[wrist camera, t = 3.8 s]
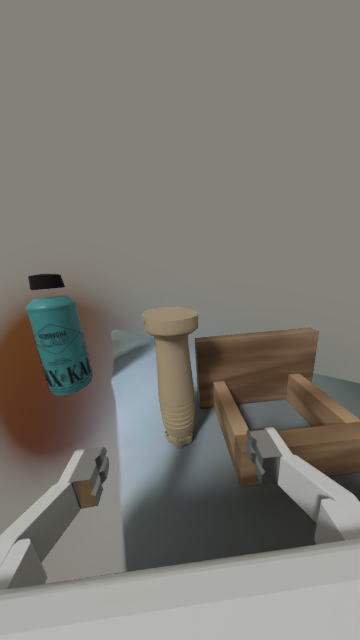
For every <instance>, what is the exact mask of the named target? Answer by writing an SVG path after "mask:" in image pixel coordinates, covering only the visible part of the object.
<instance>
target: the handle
mask: <svg viewBox="0 0 360 640" xmlns="http://www.w3.org/2000/svg"><path fill="white" fill-rule="evenodd" d="M142 317H143V325H144V328H145V331H146V333H148V334H149V335H152V336H154V338H155V345H156V358H157V374H158V392H159V402H160V408H161V414H162V419H163V423H164V426H165V429H166V431H165V433H166V437H167V440H168V442H169V443H173V444H175V445H176V446H177V448H182V447H183V446H184V445H186V444H190V443H191V442H192V439H193V429H194V422H195V395H194V386H193V378H192V371H191V363H190V355H189V346H188V335H189V334H190V333H192V332H193V331H195V330H196V329H197V328H198V314H197V311H195V310H193V309H190V308H186V307H163V308H155V309H151V310H147V311H145V312H144V313H143V314H142Z"/></svg>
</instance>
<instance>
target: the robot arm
mask: <svg viewBox="0 0 360 640" xmlns="http://www.w3.org/2000/svg"><path fill="white" fill-rule="evenodd" d="M247 437H248V440H247V441H246V447H247V452H248V455H249V458H250V460H251V462H252V463H253V464H255V472H256V474H257V476H258V478H259V480H260V483H261V485H265V484H276V483H278V485H279V486H280V487H281V488H282V489H283V490H284V491H285V492H286V493H287V494H288V495H289V496H290V497H291V498H292V499H293V500H294V501H295V502H296V503H297V504H298V505H299V506H300V507H301V508H302V509H303V510H304V511H305V512H306V513H307V514H308V515H309V516H310V517H311V518H312V519H313V520H314V521H315V522H316V523H317V525H316V531H315V536H314V540H315V542H316V544H317V545H310V546H303V547H296V548H289V549H282V550H275V551H268V552H262V553H255V554H248V555H241V556H234V557H227V558H220V559H213V560H206V561H199V562H192V563H185V564H178V565H171V566H164V567H157V568H150V569H143V570H136V571H129V572H122V573H115V574H108V575H101V576H94V577H87V578H81V579H74V580H67V581H60V582H53V583H47V584H45V582H46V579H47V574H46V571H45V570H44V567H43V565H42V561H43V560H44V559H45V557H46V556H47V555H48V553H49V552H50V551H51V549H52V548H53V547H54V545H55V544H56V542H57V541H58V540H59V538H60V537H61V536H62V534H63V533H64V532H65V530H66V529H67V527H68V526H69V525H70V523H71V522H72V520H73V519H74V518H75V517H76V515H77V514H78V513H79V511H80V509H82V508H87V507H94V506H98V504H99V501H100V498H101V494H102V491H103V487H102V484H103V482H104V481H105V480H106V478H107V475H108V470H109V460H108V457H106V456H105V455H106V452H107V451H106V448H105V447H102V448H91V449H80V450H76V451H75V452H74V454H73V456H72V458H71V459H70V461H69V463H68V465H67V467H66V469H65V470H64V472H63V474H62V476H61V478H60V480H59V482H58V484H55V485H53V486H52V487H51V488H50V489H49V490H48V491H47V492H46V493H45V494H44V495H43V496H42V497H41V498H39V499H38V500H37V501H36V502H35V503H34V504H33V505H32V506H31V507H30V508H29V509H28V510H27V511H26V512H25V513H24V514H22V515H21V516H20V517H19V518H18V519H17V520H16V521H15V522H14V523H13V524H12V525H11V526H10V527H9V528H8V529H6V530H5V531H4V532H3V533H2V534H1V535H0V640H360V502H359V500H358V499H357V498H356V497H355V496H354V494H352V493H351V492H349V491H348V490H346V489H345V488H344V487H342V486H341V485H339V484H338V483H336V482H335V481H333V480H332V479H330V478H329V477H327V476H326V475H325V474H323V473H322V472H320V471H319V470H317V469H316V468H314V467H313V466H311V465H310V464H309V463H307V462H306V461H304V460H303V459H301V458H300V457H298V456H297V455H293V454H292V453H291V451H290V450H289V448H288V447H287V445H286V444H285V442H284V441H283V440H282V438H281V437H280V435H279V434H278V432H277V431H276V430H275V428H273V427H270V428H260V429H253V430H247Z"/></svg>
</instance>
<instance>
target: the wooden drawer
mask: <svg viewBox="0 0 360 640" xmlns="http://www.w3.org/2000/svg"><path fill="white" fill-rule="evenodd" d="M318 335H319V331H317V330H314V329H312V328H301V329H291V330H279V331H269V332H258V333H248V334H236V335H225V336H215V337H203V338H195V350H196V368H197V386H198V401H199V406H200V408H207V407H214V408H215V411H216V414H217V417H218V420H219V423H220V426H221V429H222V432H223V435H224V438H225V441H226V444H227V447H228V450H229V453H230V456H231V459H232V462H233V465H234V468H235V471H236V474H237V477H238V480H239V483H240V486H241V487H244V486H252V485H261V483H260V480H259V478H258V476H257V474H256V472H255V464H253V463H252V462H251V460H250V458H249V455H248V452H247V447H246V441H247V440H248V437H247V430H249V429H248V427H247V425H246V423H245V421H244V419H243V417H242V415H241V413H240V411H239V409H238V407H237V405H236V404H244V403H254V402H263V401H273V400H282V399H287V401H288V402H289V403H290V404H291V405H292V406H293V407H294V408H295V409H296V410H297V411H298V412H299V413H300V414H301V415H302V417H303V418H304V419H305V420H306V421H307V422H308V423H309V424H310V425H311V426H312V427H307V428H299V429H290V430H281V431H277V432H278V434H279V435H280V437H281V438H282V440H283V441H284V442H285V444H286V445H287V447H288V448H289V450H290V451H291V453H292V454H293V455H297V456H298V457H300V458H301V459H303V460H304V461H306V462H307V463H309V464H310V465H311V466H313V467H314V468H316V469H317V470H319V471H320V472H322V473H323V474H325V475H326V476H334V475H342V474H350V473H358V472H360V420H359V419H358V418H357V417H356V416H354V415H353V414H352V413H350V412H349V411H348V410H346V409H345V408H344V407H342V406H341V405H340V404H338V403H337V402H336V401H335V400H333V399H332V398H331V397H329V396H328V395H327V394H325V393H324V392H323V391H321V390H320V389H319V388H317V387H316V386H315V385H314V384H312V377H313V370H314V363H315V356H316V349H317V341H318Z"/></svg>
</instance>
